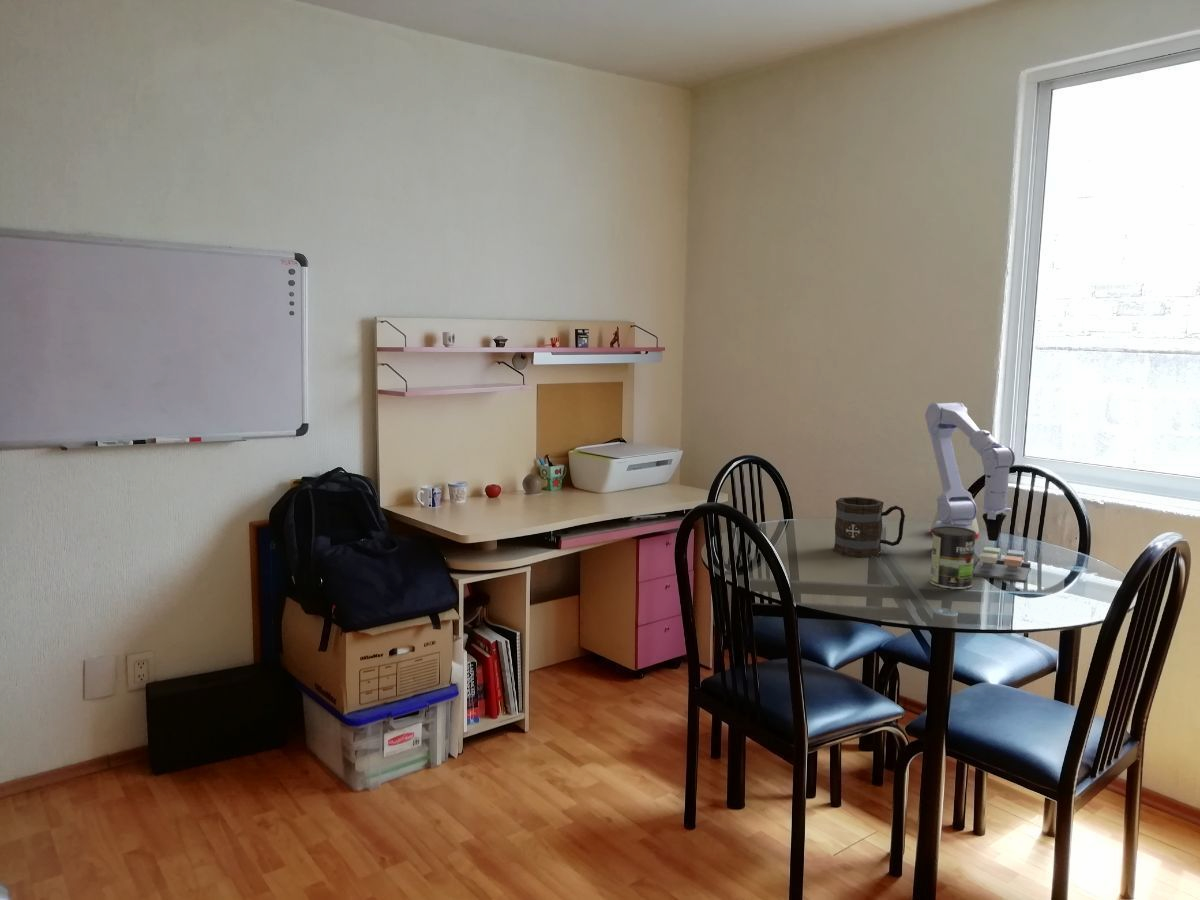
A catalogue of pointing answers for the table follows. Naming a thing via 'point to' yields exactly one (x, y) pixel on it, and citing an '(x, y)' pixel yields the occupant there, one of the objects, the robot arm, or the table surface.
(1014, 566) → the terracotta key
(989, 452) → the robot arm
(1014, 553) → the grey square block
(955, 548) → the coffee can
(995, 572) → the keypad board
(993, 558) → the ivory key
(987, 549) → the cream white block
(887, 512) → the mug
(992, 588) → the table surface
